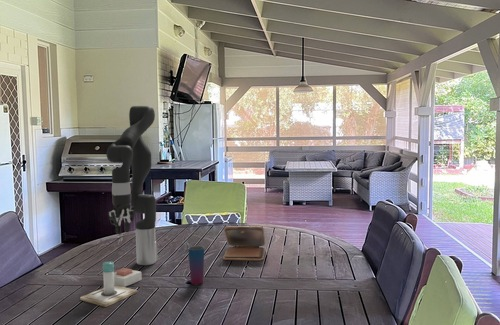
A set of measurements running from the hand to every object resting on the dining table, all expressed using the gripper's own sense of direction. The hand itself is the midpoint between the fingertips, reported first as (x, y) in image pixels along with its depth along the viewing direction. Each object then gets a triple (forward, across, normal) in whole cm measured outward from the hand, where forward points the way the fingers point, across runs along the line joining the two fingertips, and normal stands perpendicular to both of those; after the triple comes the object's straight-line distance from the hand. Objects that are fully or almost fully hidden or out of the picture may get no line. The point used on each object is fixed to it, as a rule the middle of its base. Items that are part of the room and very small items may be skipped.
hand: (122, 232), depth 194 cm
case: (+22, -58, +25) cm, 67 cm away
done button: (+19, 0, 0) cm, 19 cm away
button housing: (+21, 0, 0) cm, 21 cm away
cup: (+21, -14, +28) cm, 38 cm away
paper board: (+21, +15, +7) cm, 27 cm away
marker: (+20, +15, +7) cm, 26 cm away
